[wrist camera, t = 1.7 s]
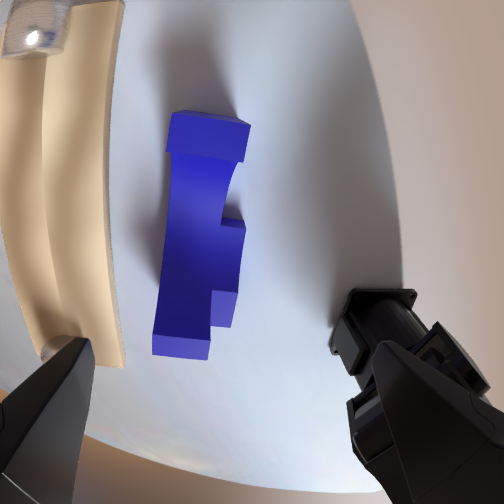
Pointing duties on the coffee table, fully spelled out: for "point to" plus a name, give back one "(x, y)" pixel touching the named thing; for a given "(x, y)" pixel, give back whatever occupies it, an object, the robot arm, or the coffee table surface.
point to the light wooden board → (63, 184)
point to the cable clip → (199, 234)
